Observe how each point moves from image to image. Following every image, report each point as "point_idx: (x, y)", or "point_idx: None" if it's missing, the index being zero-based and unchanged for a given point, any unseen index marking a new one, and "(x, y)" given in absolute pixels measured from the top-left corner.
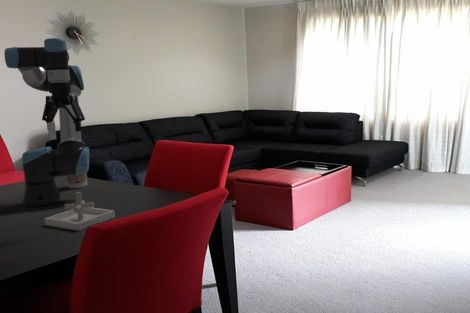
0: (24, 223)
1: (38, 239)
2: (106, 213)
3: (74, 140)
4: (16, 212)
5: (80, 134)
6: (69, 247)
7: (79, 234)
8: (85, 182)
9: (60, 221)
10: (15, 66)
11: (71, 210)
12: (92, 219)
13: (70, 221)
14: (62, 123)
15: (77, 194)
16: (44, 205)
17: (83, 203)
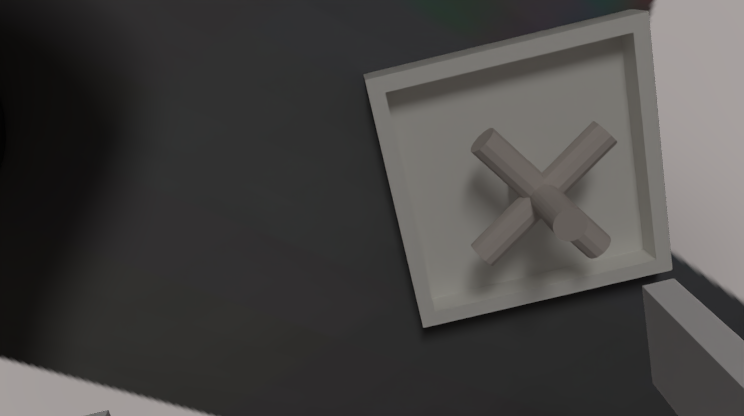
0: (297, 359)
1: (591, 405)
2: (653, 78)
3: (659, 384)
4: (29, 311)
5: (721, 330)
6: None
7: (698, 274)
8: None
9: (542, 298)
10: None
11: (402, 170)
12: (662, 180)
13: (599, 273)
14: None
15: (577, 232)
16: (3, 153)
17: (569, 183)
